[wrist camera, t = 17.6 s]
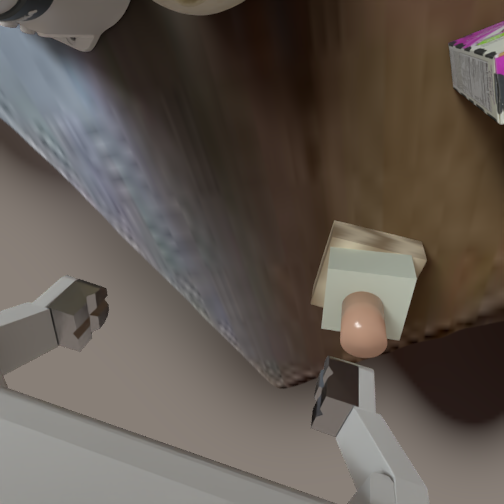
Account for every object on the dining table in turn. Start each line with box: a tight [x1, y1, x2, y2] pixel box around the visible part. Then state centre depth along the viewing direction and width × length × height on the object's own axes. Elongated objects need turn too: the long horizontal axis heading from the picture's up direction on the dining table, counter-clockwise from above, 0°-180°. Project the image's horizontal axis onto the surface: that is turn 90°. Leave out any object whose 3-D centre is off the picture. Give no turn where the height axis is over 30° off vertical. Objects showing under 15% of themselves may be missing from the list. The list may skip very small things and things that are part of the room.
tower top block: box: [321, 247, 417, 340], centre depth 47 cm, size 10×10×5 cm
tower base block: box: [311, 220, 427, 308], centre depth 51 cm, size 12×12×5 cm
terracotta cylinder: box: [340, 291, 387, 358], centre depth 42 cm, size 5×5×6 cm
